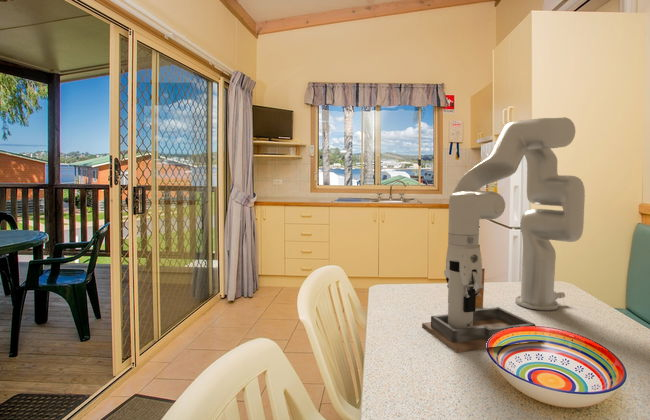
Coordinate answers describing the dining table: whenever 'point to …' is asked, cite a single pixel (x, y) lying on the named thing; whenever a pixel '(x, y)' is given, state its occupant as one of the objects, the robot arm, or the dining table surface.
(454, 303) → the travel mug
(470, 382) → the dining table surface
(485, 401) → the dining table surface
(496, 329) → the keyhole cradle
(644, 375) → the dining table surface
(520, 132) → the robot arm
